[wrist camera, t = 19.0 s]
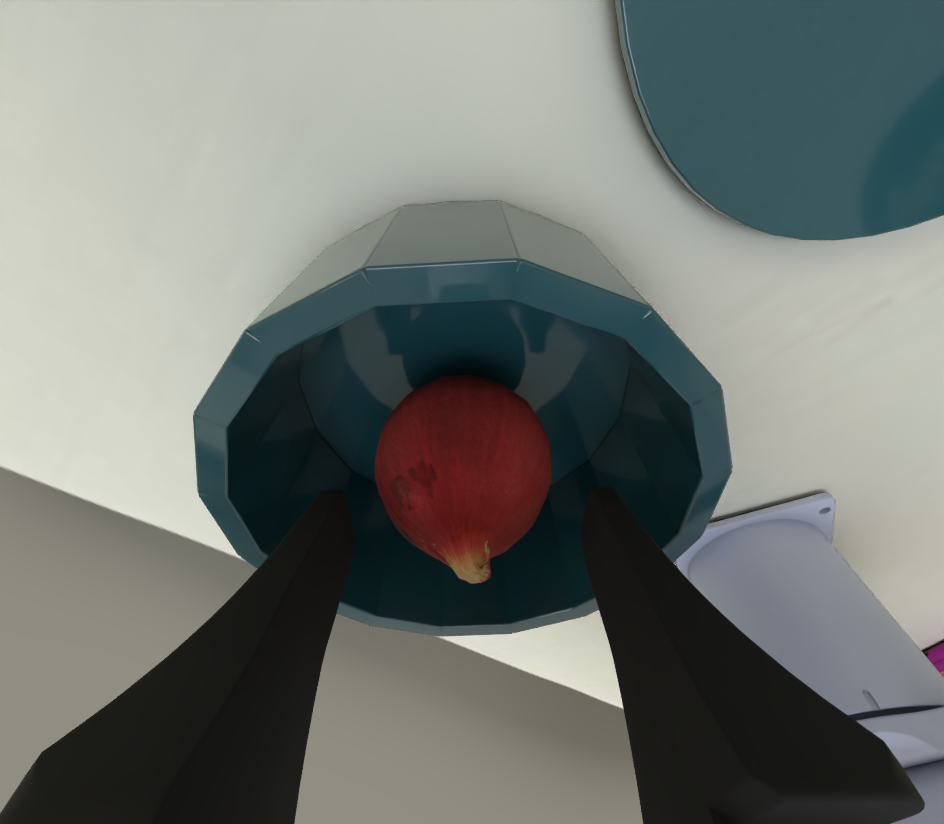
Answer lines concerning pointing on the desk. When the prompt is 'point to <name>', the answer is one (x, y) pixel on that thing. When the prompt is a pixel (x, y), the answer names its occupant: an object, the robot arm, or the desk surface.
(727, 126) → the pot lid
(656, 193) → the desk surface
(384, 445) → the onion
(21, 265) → the desk surface
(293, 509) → the pot
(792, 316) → the desk surface
